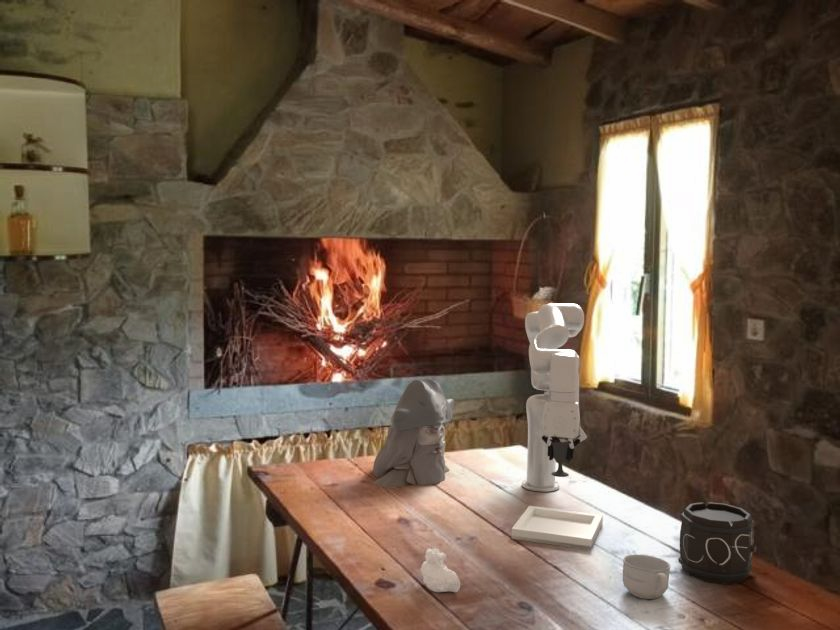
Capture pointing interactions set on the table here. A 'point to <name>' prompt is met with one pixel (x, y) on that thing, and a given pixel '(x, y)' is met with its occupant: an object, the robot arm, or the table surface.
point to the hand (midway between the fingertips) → (560, 459)
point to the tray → (558, 527)
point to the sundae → (560, 454)
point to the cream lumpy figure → (438, 573)
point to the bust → (415, 438)
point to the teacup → (645, 575)
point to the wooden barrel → (716, 542)
